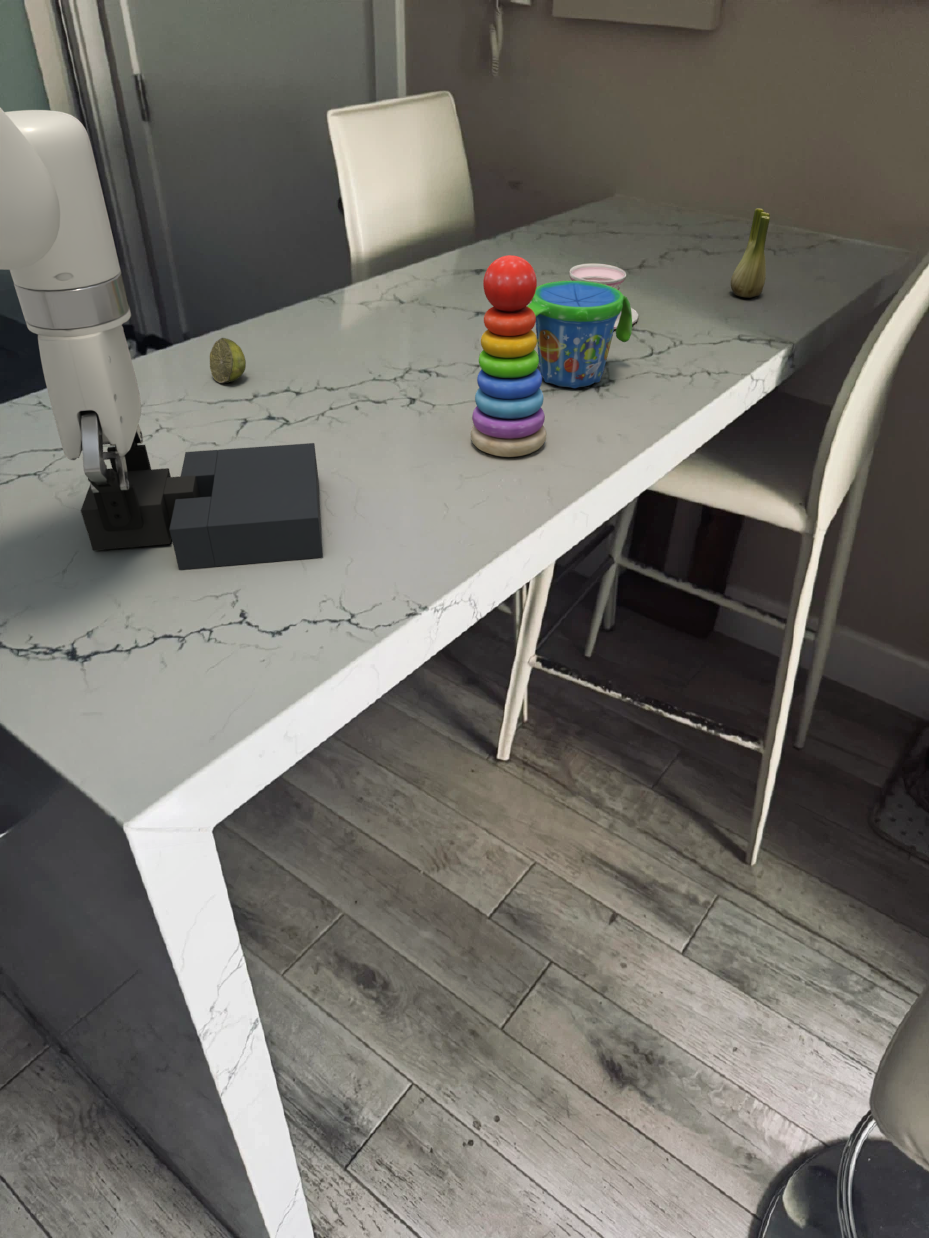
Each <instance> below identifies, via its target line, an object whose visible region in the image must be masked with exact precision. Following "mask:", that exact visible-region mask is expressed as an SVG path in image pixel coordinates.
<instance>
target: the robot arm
mask: <svg viewBox="0 0 929 1238" xmlns="http://www.w3.org/2000/svg"><path fill="white" fill-rule="evenodd" d="M87 131H88V130H86V127H85V126H84V124H83V123H82V122H81V121H80V120H79V119H78V118H77V117H75V116H74V115H72V114H70V113H66V112H63V111H59V110H49V109H23V110H12V111H4V110H3V108H2V107H0V270H2V271H3V270H5V271H7V270H8V271H9V272H10V275H11V279H12V281H13V286H14V288H15V292H16V296H17V298H18V302H19V305H20V308H21V312H22V314H23V318H24V320H25V324H26V327H27V329H28V330H29V332H31V333H33V334H36V335H37V342H38V349H39V356H40V362H41V367H42V373H43V376H44V382H45V386H46V389H47V394H48V398H49V402H50V406H51V409H52V415H53V417H54V418H53V419H54V421H55V425H56V429H57V433H58V436H59V441H60V444H61V448H62V451H63V454H64V456H65V458H66V459H68V460H69V461H76V460H77V459H80V457H81V454H82V466H83V468H82V469H83V473H84V475H85V476H86V478H87V481H88V482H89V486H90V485H91V490H92V492H93V494H94V498H95V501H96V504H97V508H98V511H99V514H100V518H101V521H102V524H103V528H104V530H106V531H108V532H112V531H124V530H136V529H141V528H142V527H143V524H144V521H143V517H142V513H141V510H140V506H139V502H138V498H137V495H136V491H135V487H134V484H130V485H129V480H128V473H127V471H139V470H152V466H151V463H150V458H149V454H148V450H147V446H146V444H143V443H144V436H143V432H142V429H141V426H140V420H141V416H142V401H141V394H140V389H139V385H138V380H137V376H136V371H135V368H134V364H133V360H132V357H131V352H130V349H129V346H128V342H127V338H126V335H125V332H124V327H123V324H124V323H127V322H128V321H129V320H130V319H131V317H132V313H131V308H130V304H129V299H128V296H127V295H128V294H127V290H126V285H125V282H124V278H123V274H122V270H121V267H120V262H119V258H118V254H117V249H116V245H115V241H114V240H115V239H114V236H113V233H112V227H111V222H110V219H109V215H108V210H107V206H106V202H105V198H104V194H103V189H102V185H101V180H100V177H99V172H98V168H97V164H96V159H95V155H94V151H93V147H92V143H91V141H90V136H89V134H88V132H87ZM105 445H106V446H107V445H109V446H107V448H106V451H104V446H105ZM107 460H109V462H110V466H111V467H110V468H108V466H107V464H106V463H105V461H107ZM116 472H117V473H116Z"/></svg>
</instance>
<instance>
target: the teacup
mask: <svg viewBox="0 0 929 1238" xmlns="http://www.w3.org/2000/svg"><path fill="white" fill-rule="evenodd" d="M568 276H569V278H570V281H587V282H595V283H600V284H604V285H608V286H611V287H613V288H616V289H617V290H619V291H620V289H621V287H620V285H622V284H623V283H624V281H625V280H626V277H627V272H626V271H625V270H624V269H622V268H620V267H618V266H614V265H612V264H611V265H610V264H604V263H582V264H576V265H574V266H572V267H571V268H570V269H569V275H568ZM631 312H632V325H634V324H635V323H636V322H638V320H639V312H638V311H637V310H636V309H634V308H633V307H631ZM620 316H621V312H620V314H619V315H618V317H617V319H616V322H615V325H614V330H616V329H617V326H618V323H619V319H620Z"/></svg>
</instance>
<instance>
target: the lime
mask: <svg viewBox="0 0 929 1238" xmlns="http://www.w3.org/2000/svg"><path fill="white" fill-rule="evenodd" d="M246 365H247V361H246V357H245V354H244V351H243V350H242V348H241V347H240V345H239V344H237V342H235V341H234V340H232V339H229V338H226V337H221V338H218V339H217V340H216V341H215V342H214V344H213V345H212V348H211V350H210V353H209V370H210V374H211V375H212V378H213V379H214V381H216V382H217V383H219V384H228V383H233V382H234V381H236V380H238V379H239V378H241V377H242V375H243V374H244V373H245V371H246V367H247V366H246Z"/></svg>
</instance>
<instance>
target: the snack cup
mask: <svg viewBox="0 0 929 1238" xmlns="http://www.w3.org/2000/svg"><path fill="white" fill-rule="evenodd" d="M527 307H529V308H530V309H532V310H533V312H534V313H535V316H536V322H535V334H536V337H537V345H536V347H537V354H538V357H539V364H538V366H539V371H540V373H541V376H542V379H543V381H544V382H545V383H548V384H552V385H555V386H556V387H557V386H558V387H563V388H572V389H578V388H583V387H584V388H585V387H587V386H591V385H593V384H594V383H596V384H597V383H600V382H601V379H602V377H603V374H604V372H605V368H606V364H607V363H606V362H607V361H608V356H609V353H610V349H611V345H612V340H613V336H614V330H615V337H616V339H618V340H619V341H620V342H622V343H627V342H629V341H630V339H631V336H632V333H633V324H632V312H631V308H632V307H631V303H630V301H629V299H628V297H627V296H625V295H624V294H623V293H622V292H621V291H620V289H619V290H617V289H616V288H613V287H611V286H608V285H604V284H600V283H595V282H587V281H572V280H559V281H558V280H557V281H551V282H546V283H544V284H541V285H537V287H536V292H535V295H534V297H533V299H532V300H531V302H530V303H529V304H528V305H527ZM620 312H621V316H620V319H619V323H618V326H617V329H614V325H615V322H616V319H617V317H618V315H619V314H620Z"/></svg>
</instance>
